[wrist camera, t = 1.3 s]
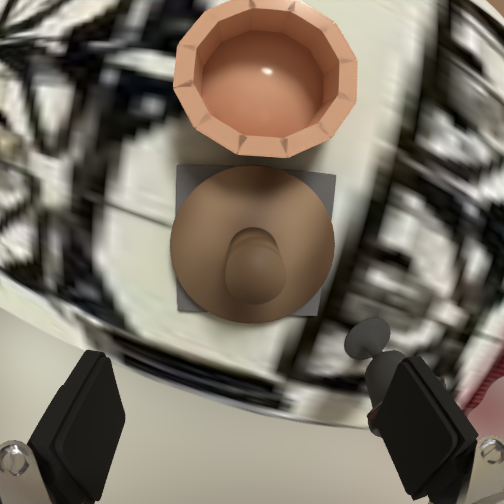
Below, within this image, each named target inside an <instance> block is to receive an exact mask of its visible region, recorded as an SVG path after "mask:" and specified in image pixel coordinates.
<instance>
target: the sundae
mask: <svg viewBox="0 0 504 504" xmlns="http://www.w3.org/2000/svg"><path fill="white" fill-rule="evenodd" d="M389 338H390V327H389V325H388V324H387V322H386V321H384V320H382V319H379V318H370V319H366V320H364V321H362V322H360V323H358V324H357V325H356V326H354V327H353V328H352V329H351V330H350V332H349V333H348V335H347V337H346V340H345V349H346V352H347V353H348V355H350V356H351V357H352V358H355V359H368V358H371V357H372V358H373V360H372V361H371V362H370V364H369V365H368V367H367V369H366V372H365V377H366V384H367V388H368V392H369V395H370V399H371V403H372V407H373V409H372V410H371V411H370V412H369V413H368V414H367V418H368V425H369V428H370V431H371V432H372V433H373V434H374V435H376V436H378V437H381V438H382V436H381V434H380V432H379V429H378V427H377V425H376V415H377V413H378V410H379V408H380V406H381V404H382V402H383V399H384V397H385V395H386V392H387V390H388V388H389V385H390V383H391V381H392V378H393V376H394V373H395V371H396V368H397V366H398V364H399V363H401V362H402V360H403V359H404V358H407V357H406V356H405V355H404V354H402V353H401V352H399V351H395V350H393V351H385V352H383V351H382V350H383V349H384V347H385V346H386V345H387V343H388V341H389ZM436 377H437V376H436ZM437 378H438V380H439V381H440V382H441V384H442V385H443V386H444V387H445V389H446V384H445V382H444V378H442V377H437Z"/></svg>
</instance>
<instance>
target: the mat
mask: <svg viewBox="0 0 504 504" xmlns="http://www.w3.org/2000/svg"><path fill="white" fill-rule="evenodd" d="M234 167H236V166H212V165H177V177H176V215H177V213H178V211H179V209H180V207H181V205H182V204H183V202H184V201H185V200H186V198H187V197H188V196H189V195H190V193H191V192H192V191H193V190H194V189H195V188H196V187H198V186H199V185H200V184H201V183H202V182H204V181H205V180H207V179H208V178H210V177H212V176H213V175H215V174H217V173H219V172H222V171H224V170H227V169H230V168H234ZM278 170H281V171H283V172H286V173H288V174H290V175H293V176H294V177H296V178H297V179H299V180H301V181H302V182H303V183H305V184H306V185H307V186H308V187H310V188H311V189H312V190H313V192H314V193H315V194H316V195H317V196H318V197H319V199H320V200H321V202H322V203H323V204H324V206H325V208H326V210H327V212H328V214H329V217H330V220H331V219H332V211H333V202H334V193H335V183H336V175H333V174H324V173H315V172H304V171H294V170H282V169H278ZM321 289H322V286H321V288H320V289H319V291H318V292H317V293H316V294H315V295H314V297H313V298H312V299H311V300H310V301H309V302H307V303H306V304H305V305H304V306H303V307H301V308H300V309H298V310H297V311H295V312H293V313H291V314H289V315H293V316H317V313H318V307H319V301H320V296H321ZM177 303H178V310H185V311H199V312H208V311H207V310H205V309H204V308H202V307H201V306H200V305H199V304H197V303H196V302H195V301H194V300H193V299H192V298H191V297H190V296H189V295H188V294H187V292H186V291H185V290H184V288H183V287H182V285H181V283H180V282H179V280H178V278H177Z"/></svg>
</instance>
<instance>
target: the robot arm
mask: <svg viewBox="0 0 504 504" xmlns="http://www.w3.org/2000/svg"><path fill="white" fill-rule="evenodd" d="M124 423H125V412H124V409H123V405H122V402H121V398H120V395H119V391H118V388H117V384H116V380H115V376H114V372H113V368H112V364H111V360H110V358H108V357H106V355H105V353H103V352H99V351H93V350H86V351H85V352H84V354H83V355H82V357H81V358H80V360H79V362H78V363H77V365H76V366H75V368H74V369H73V371H72V372H71V374H70V376H69V377H68V379H67V380H66V382H65V383H64V385H62V386H61V387H60V388H59V390H58V391H57V393H56V395H55V396H54V398H53V400H52V401H51V403H50V405H49V406H48V408H47V409H46V411H45V413H44V415H43V416H42V418H41V420H40V421H39V423H38V425H37V427H36V429H35V430H34V432H33V434H32V435H31V437H30V439H29V441H28V443H27V445H26V444H24V443H23V442H20V441H16V440H14V441H7V442H4V443H2V444H1V445H0V504H94V503H95V501H99V500H100V499H101V496H102V493H103V489H104V485H105V483H106V479H107V476H108V473H109V469H110V466H111V463H112V460H113V457H114V454H115V450H116V448H117V444H118V442H119V439H120V436H121V433H122V429H123V427H124ZM376 425H377V427H378V429H379V432H380V434H381V436H382V438H383V440H384V443H385V445H386V447H387V449H388V452H389V454H390V456H391V458H392V461H393V463H394V465H395V468H396V470H397V472H398V474H399V477H400V479H401V481H402V484H403V486H404V488H405V491H406V493H407V494H409V495H411V497H412V499H413V500H417V499H420V498H422V497H425V496H427V495H428V497H429V499H430V500H429V503H428V504H504V441H503V440H502V439H500V438H498V437H496V436H490V435H489V436H485V437H483V438H481V439H480V440H479V441H478V442H477V440H476V438H477V437H478V433H477V432H476V430H475V429H474V427H473V426H472V425H471V423H470V422H469V420H468V419H467V417H466V416H465V415H464V413H463V412H462V410H461V409H460V408H459V406H458V405H457V404H456V402H455V401H454V400H453V398H452V397H451V395H450V394H449V393H448V391H447V390H446V389H445V387H444V386H443V385H442V384H441V382H440V381H439V380H438V378H437V377H436V376H435V374H434V373H433V372H432V370H431V369H430V368H429V367H428V365H427V364H426V363H425V362H424V360H423V359H422V358H421V357H420V356H415V357H407V358H404V359H403V360H402V362H401V363H399V364H398V366H397V368H396V371H395V373H394V376H393V378H392V381H391V383H390V385H389V388H388V390H387V392H386V395H385V397H384V399H383V402H382V404H381V406H380V408H379V410H378V413H377V415H376Z"/></svg>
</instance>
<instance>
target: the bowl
mask: <svg viewBox="0 0 504 504" xmlns="http://www.w3.org/2000/svg"><path fill="white" fill-rule="evenodd" d="M333 23H334V21H332V20H331V19H329V18H328V17H326V16H325V15H323V14H322V13H320V12H318V11H317V10H315V9H314V8H312V7H310V6H309V5H307V4H305V3H303V2H302V1H300V0H231V1H228V2H225V3H223V4H220V5H218V6H215V7H213V8H211V9H208V10H207V12H206V11H205V12H204V13H203V14H202V16H201V17H200V18H199V19H198V20H197V21H196V23H195V24H194V25H193V26H192V27H191V29H190V30H189V31H188V32H187V34H186V35H185V36H184V37H183V39H182V40H181V41H180V42H179V44H178V47H177V55H176V63H175V73H174V83H173V88H174V91H175V93H176V95H177V97H178V98H179V100H180V102H181V104H182V106H183V108H184V110H185V112H186V114H187V116H188V117H189V119H190V121H191V123H192V125H193V127H194V128H195V129H196V130H197V131H199V132H201V133H202V134H204V135H206V136H207V137H209V138H211V139H212V140H214V141H216V142H217V143H219V144H220V145H222V146H224V147H225V148H227V149H228V150H230V151H232V152H233V153H235V154H238V155H250V156H265V157H278V158H289V157H291V156H293V155H296V154H298V153H300V152H302V151H305V150H307V149H309V148H311V147H313V146H316V145H318V144H320V143H323V142H325V141H327V140H329V139H330V138H332V137H333V135H334V134H335V133H336V131H337V130H338V128H339V127H340V125H341V124H342V122H343V121H344V120H345V118H346V117H347V115H348V114H349V112H350V111H351V110H352V108H353V107H354V105H355V104H356V103H355V102H356V98H357V61H356V60H357V59H356V57H355V55H354V53H353V51H352V50H351V48H350V46H349V44H348V43H347V41H346V39H345V38H344V36H343V34H342V33H341V31H340V29H339V28H338V26H337V24H336V23H334V24H333Z"/></svg>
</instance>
